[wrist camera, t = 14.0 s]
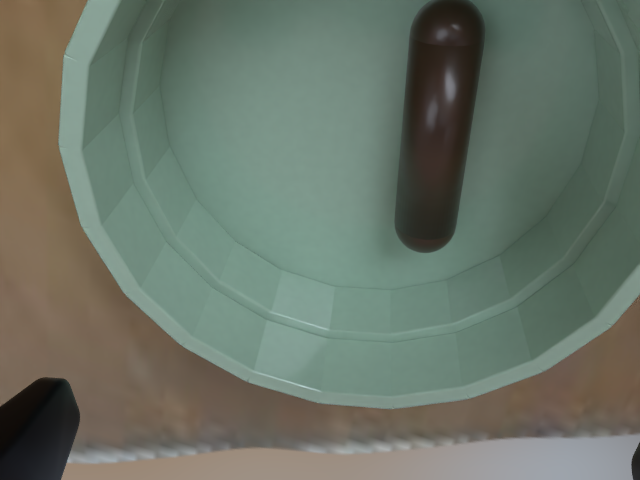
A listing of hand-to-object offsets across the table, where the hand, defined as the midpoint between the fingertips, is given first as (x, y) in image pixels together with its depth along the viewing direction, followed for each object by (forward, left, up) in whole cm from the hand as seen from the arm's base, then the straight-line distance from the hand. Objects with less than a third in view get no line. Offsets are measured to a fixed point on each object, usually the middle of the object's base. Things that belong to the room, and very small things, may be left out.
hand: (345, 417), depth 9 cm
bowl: (0, 0, -12) cm, 12 cm away
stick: (-1, 0, -10) cm, 10 cm away
